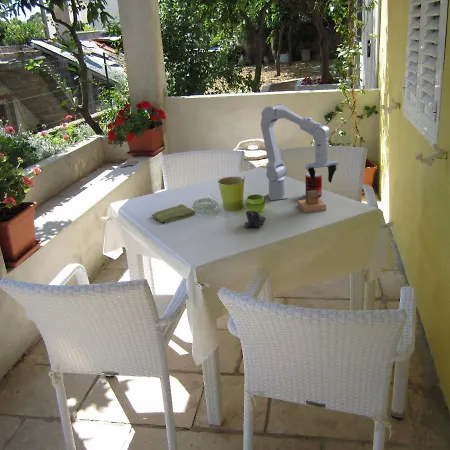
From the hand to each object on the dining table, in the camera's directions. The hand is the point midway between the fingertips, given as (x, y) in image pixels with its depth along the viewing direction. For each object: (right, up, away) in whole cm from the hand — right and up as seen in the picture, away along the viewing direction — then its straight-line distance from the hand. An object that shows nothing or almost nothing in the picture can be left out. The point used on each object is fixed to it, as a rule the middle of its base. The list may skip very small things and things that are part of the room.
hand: (321, 182), depth 220 cm
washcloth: (-67, -16, +3) cm, 69 cm away
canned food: (-1, -5, +15) cm, 16 cm away
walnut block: (-5, -9, -2) cm, 10 cm away
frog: (-31, -20, -16) cm, 40 cm away
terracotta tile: (-5, -11, -1) cm, 12 cm away
